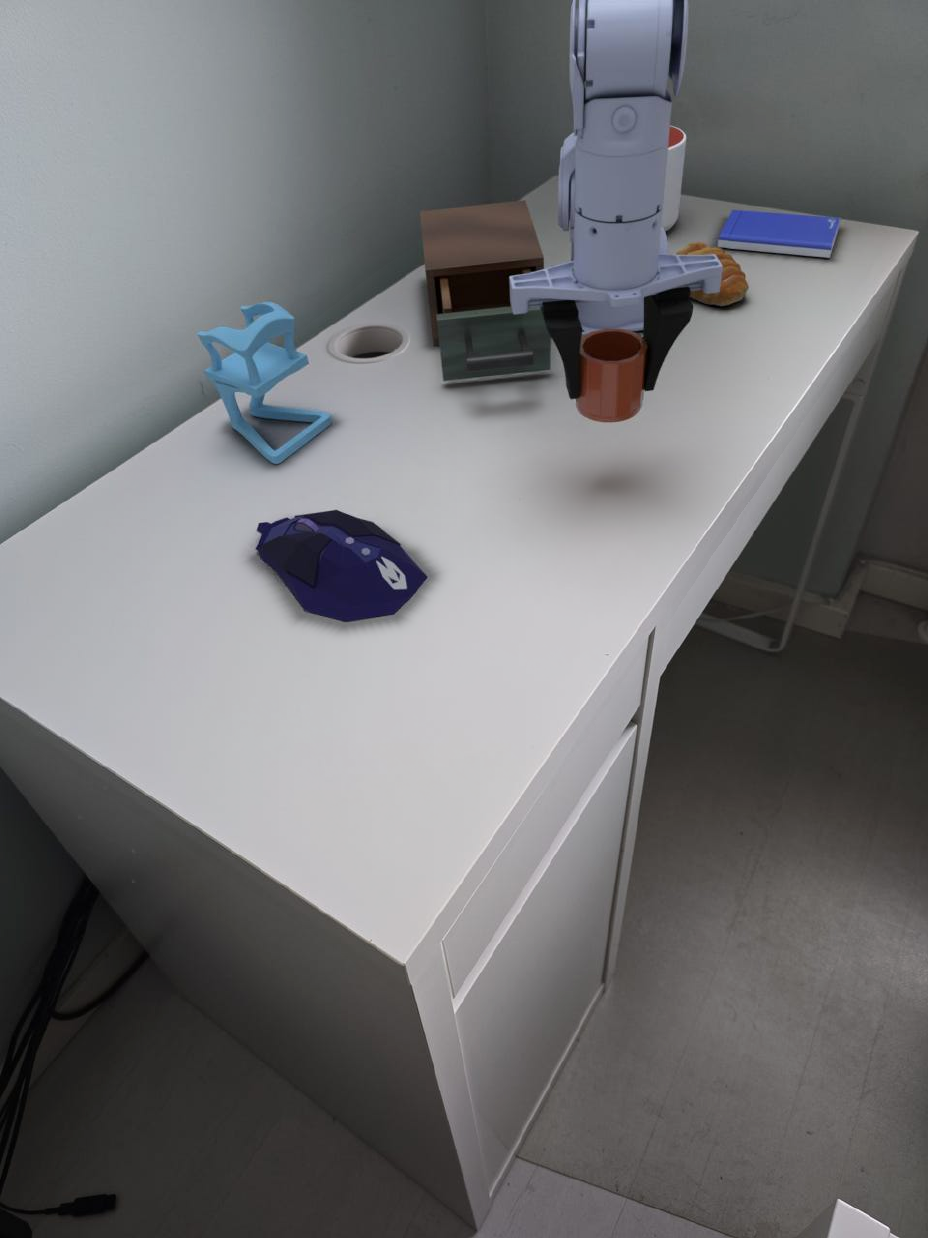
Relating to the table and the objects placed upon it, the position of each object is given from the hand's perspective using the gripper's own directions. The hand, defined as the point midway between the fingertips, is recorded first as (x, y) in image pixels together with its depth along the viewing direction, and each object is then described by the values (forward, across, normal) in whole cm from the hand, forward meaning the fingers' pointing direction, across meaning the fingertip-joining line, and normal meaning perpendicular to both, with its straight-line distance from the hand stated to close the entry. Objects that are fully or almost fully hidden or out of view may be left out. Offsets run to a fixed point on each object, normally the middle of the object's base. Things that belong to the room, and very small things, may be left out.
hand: (609, 387), depth 67 cm
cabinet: (+9, -7, +32) cm, 34 cm away
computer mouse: (+9, -23, -8) cm, 26 cm away
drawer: (+8, -7, +21) cm, 23 cm away
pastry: (+9, +17, +31) cm, 37 cm away
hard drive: (+9, +28, +41) cm, 51 cm away
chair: (+9, -29, +12) cm, 33 cm away
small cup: (+1, 0, 0) cm, 1 cm away
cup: (+9, +13, +49) cm, 52 cm away
